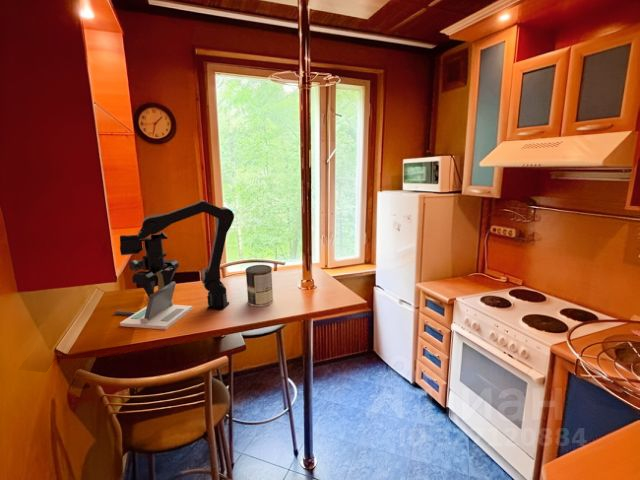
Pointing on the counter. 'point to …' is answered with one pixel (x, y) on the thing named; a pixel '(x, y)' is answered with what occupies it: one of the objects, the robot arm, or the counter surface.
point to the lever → (159, 300)
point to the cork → (160, 280)
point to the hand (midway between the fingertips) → (159, 293)
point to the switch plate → (155, 317)
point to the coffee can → (259, 285)
